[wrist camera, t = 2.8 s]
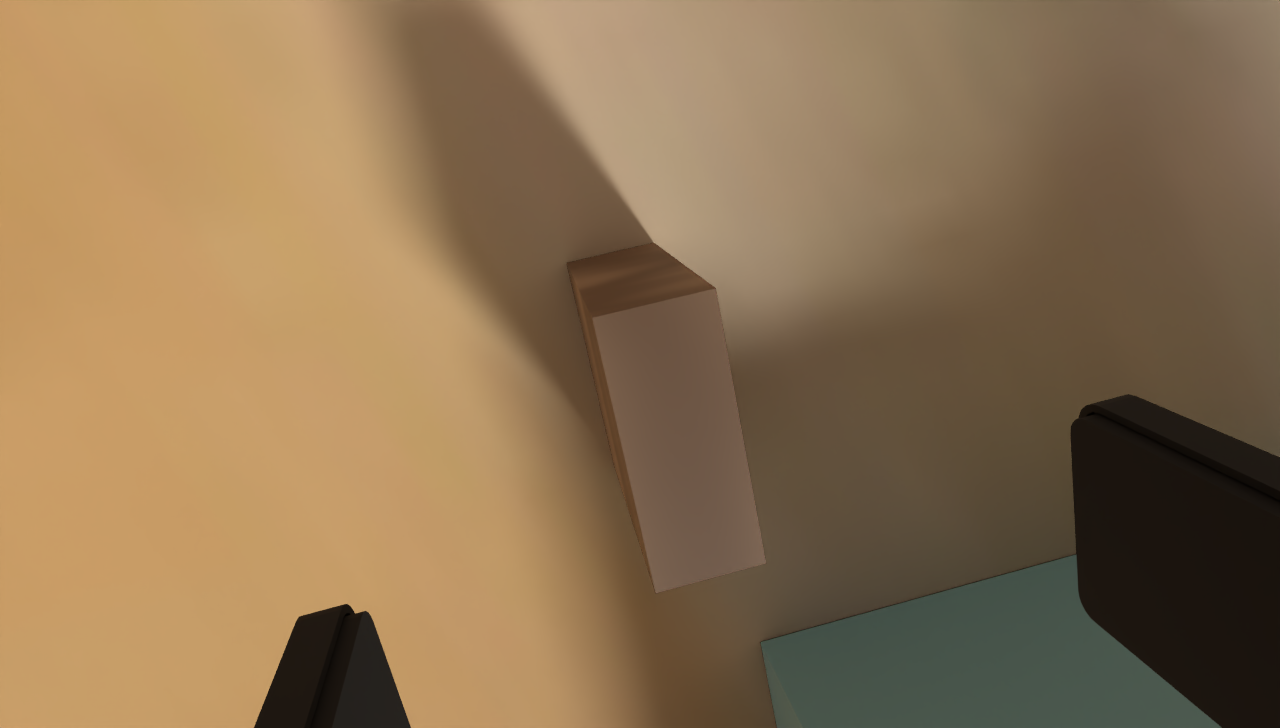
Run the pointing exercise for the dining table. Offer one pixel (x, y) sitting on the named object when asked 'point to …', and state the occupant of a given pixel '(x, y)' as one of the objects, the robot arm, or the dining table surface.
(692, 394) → the wood-grain rectangular block
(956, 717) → the box
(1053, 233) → the dining table surface
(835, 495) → the dining table surface
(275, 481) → the dining table surface
